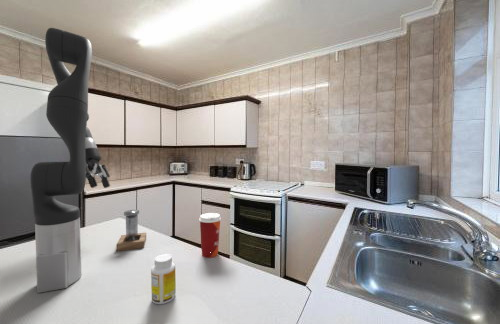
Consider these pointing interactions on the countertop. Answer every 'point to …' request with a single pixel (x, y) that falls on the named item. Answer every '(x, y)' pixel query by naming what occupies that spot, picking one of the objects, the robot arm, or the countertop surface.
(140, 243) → the collar block
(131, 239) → the pin
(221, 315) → the countertop surface
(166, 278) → the supplement bottle
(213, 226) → the paper cup
